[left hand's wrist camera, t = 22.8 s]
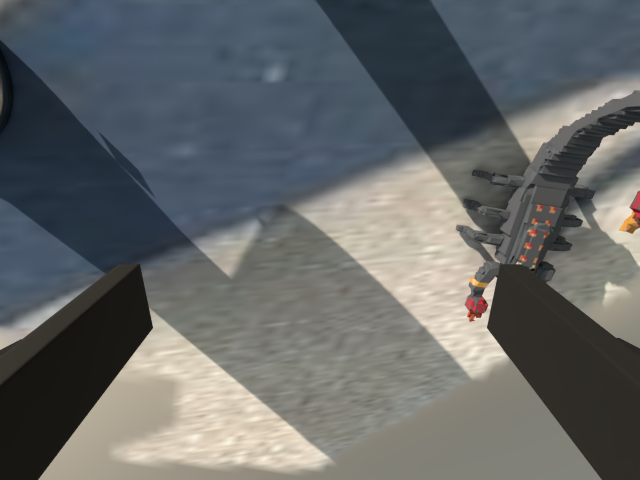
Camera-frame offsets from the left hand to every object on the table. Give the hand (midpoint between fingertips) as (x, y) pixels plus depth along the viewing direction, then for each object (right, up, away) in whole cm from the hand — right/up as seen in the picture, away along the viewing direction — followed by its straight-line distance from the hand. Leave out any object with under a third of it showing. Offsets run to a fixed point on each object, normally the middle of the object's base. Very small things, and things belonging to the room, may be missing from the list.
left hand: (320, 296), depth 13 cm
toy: (+23, +5, +29) cm, 37 cm away
